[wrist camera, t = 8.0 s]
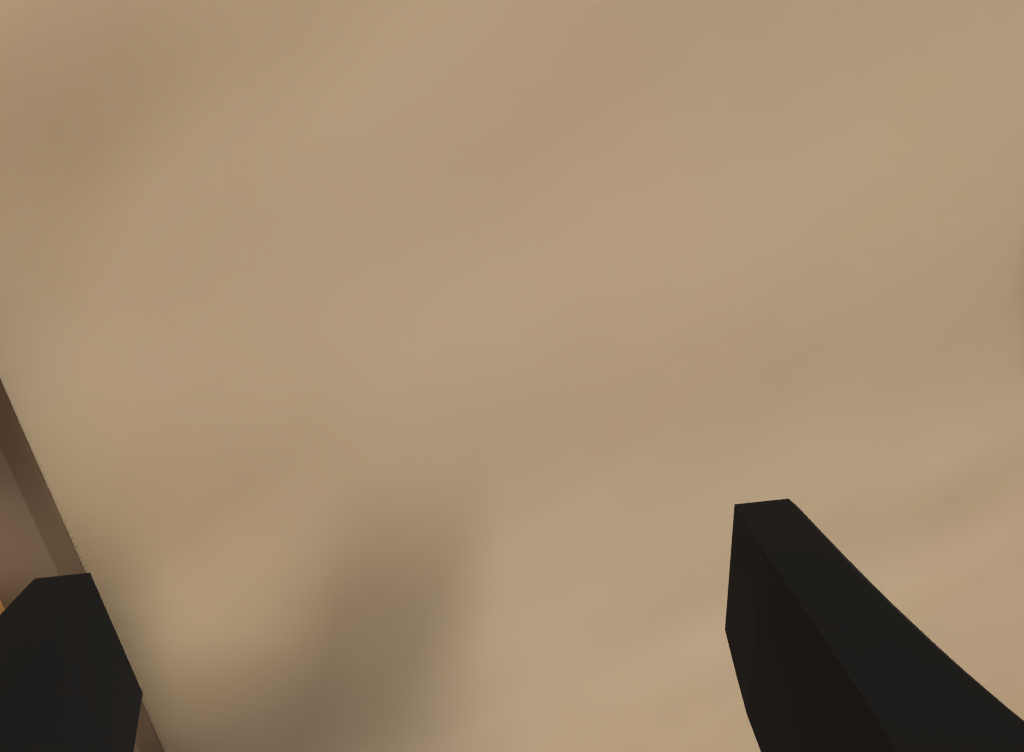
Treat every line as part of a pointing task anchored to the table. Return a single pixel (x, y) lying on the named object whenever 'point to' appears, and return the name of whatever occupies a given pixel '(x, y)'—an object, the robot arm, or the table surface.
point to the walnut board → (36, 533)
